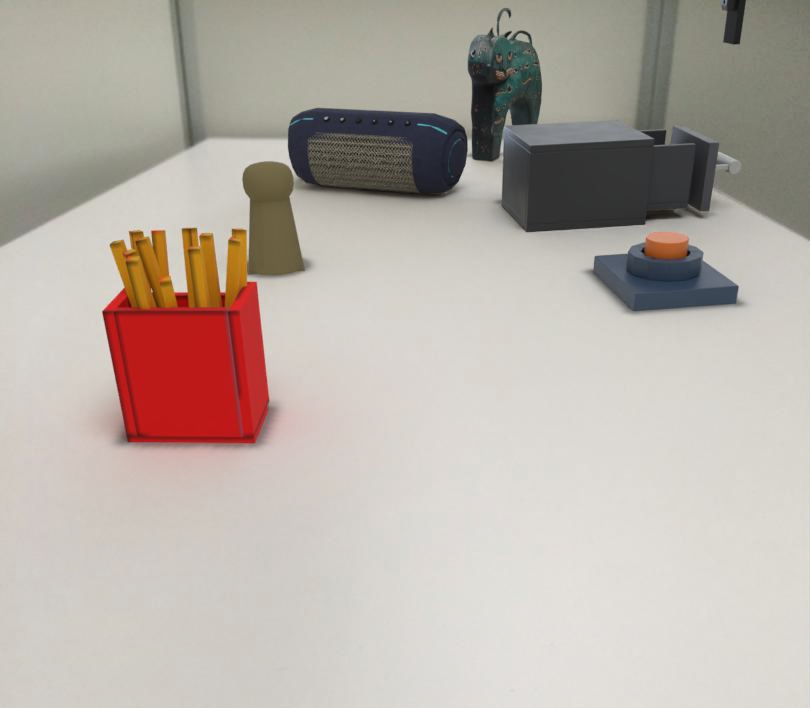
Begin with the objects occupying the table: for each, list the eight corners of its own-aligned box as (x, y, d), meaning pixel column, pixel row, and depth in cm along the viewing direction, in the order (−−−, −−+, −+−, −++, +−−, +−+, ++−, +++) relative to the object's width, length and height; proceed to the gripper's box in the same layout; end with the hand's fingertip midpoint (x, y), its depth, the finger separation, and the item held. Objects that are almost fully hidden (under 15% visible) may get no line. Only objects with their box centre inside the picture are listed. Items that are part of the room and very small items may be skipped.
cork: (274, 259, 107) (264, 154, 101) (316, 268, 104) (308, 160, 98) (236, 274, 103) (223, 165, 97) (278, 283, 100) (268, 172, 94)
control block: (685, 270, 101) (690, 231, 98) (735, 308, 91) (742, 266, 88) (592, 276, 99) (595, 237, 97) (633, 316, 89) (637, 274, 87)
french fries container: (154, 408, 75) (122, 224, 67) (271, 409, 74) (252, 223, 67) (127, 450, 69) (88, 254, 61) (254, 451, 68) (231, 253, 61)
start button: (677, 248, 95) (679, 230, 94) (693, 260, 92) (695, 241, 91) (637, 250, 94) (639, 232, 94) (652, 263, 91) (655, 244, 90)
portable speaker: (278, 191, 134) (271, 112, 128) (311, 175, 141) (306, 101, 136) (448, 204, 125) (448, 122, 120) (473, 187, 133) (475, 108, 127)
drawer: (704, 187, 127) (713, 123, 122) (743, 209, 117) (754, 140, 113) (573, 195, 124) (577, 130, 120) (601, 218, 115) (607, 148, 111)
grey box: (610, 198, 126) (618, 119, 121) (645, 224, 116) (654, 138, 110) (501, 205, 124) (504, 125, 119) (526, 232, 114) (530, 145, 109)
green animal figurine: (493, 164, 145) (497, 12, 134) (455, 160, 148) (456, 11, 137) (546, 140, 159) (554, 1, 148) (511, 137, 162) (516, 1, 151)
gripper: (911, -186, 106) (866, 32, 117) (695, -182, 103) (671, 42, 114) (955, -193, 100) (903, 38, 111) (727, -189, 96) (698, 48, 108)
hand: (786, 41), depth 113 cm, fingers open, 13 cm apart
